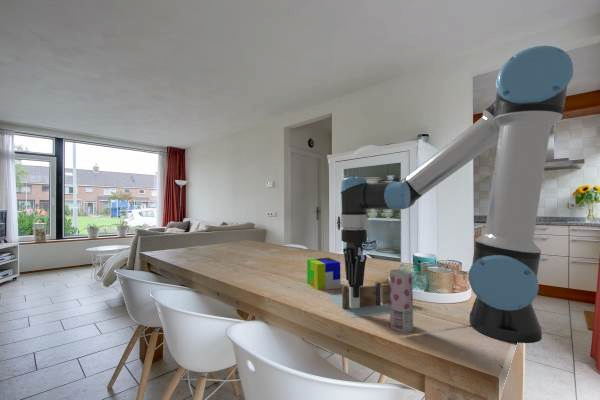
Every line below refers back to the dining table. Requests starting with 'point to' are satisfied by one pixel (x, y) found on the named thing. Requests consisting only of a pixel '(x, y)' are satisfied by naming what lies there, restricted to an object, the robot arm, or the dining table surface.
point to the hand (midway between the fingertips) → (354, 307)
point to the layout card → (362, 308)
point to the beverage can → (401, 300)
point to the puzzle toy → (323, 273)
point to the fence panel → (364, 295)
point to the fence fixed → (385, 293)
